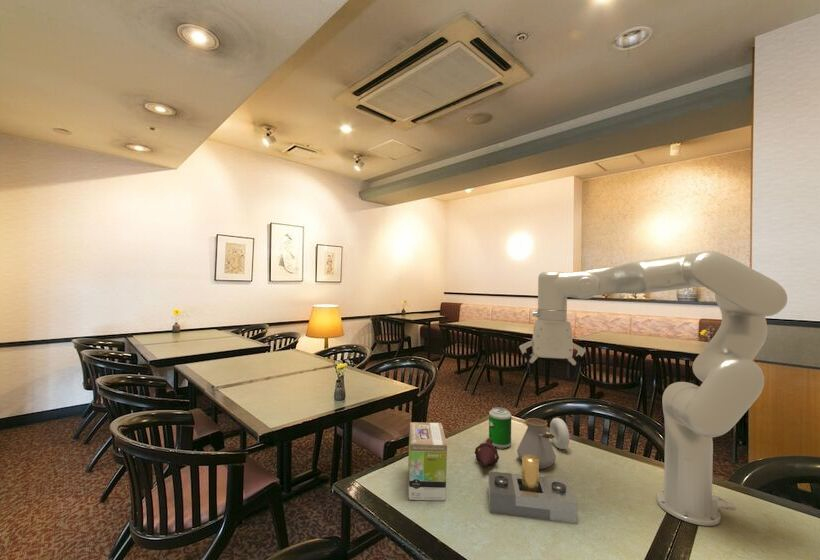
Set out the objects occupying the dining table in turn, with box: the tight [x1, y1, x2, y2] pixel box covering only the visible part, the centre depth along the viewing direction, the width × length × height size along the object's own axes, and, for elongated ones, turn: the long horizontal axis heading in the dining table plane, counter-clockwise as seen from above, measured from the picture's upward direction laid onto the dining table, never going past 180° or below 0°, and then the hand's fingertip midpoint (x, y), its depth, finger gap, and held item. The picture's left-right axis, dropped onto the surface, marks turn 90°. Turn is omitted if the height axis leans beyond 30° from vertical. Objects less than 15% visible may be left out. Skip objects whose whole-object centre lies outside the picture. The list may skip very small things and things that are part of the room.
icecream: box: [474, 437, 500, 468], centre depth 110 cm, size 7×7×15 cm
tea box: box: [407, 421, 448, 501], centre depth 99 cm, size 15×10×15 cm
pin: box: [521, 454, 540, 493], centre depth 91 cm, size 4×4×12 cm
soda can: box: [488, 407, 512, 450], centre depth 124 cm, size 8×8×12 cm
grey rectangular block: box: [487, 470, 578, 524], centre depth 91 cm, size 20×10×6 cm, turn 80°
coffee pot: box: [516, 417, 558, 470], centre depth 107 cm, size 21×12×15 cm, turn 177°
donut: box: [549, 417, 571, 450], centre depth 122 cm, size 10×4×10 cm, turn 4°
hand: (551, 377), depth 99 cm, fingers open, 9 cm apart
